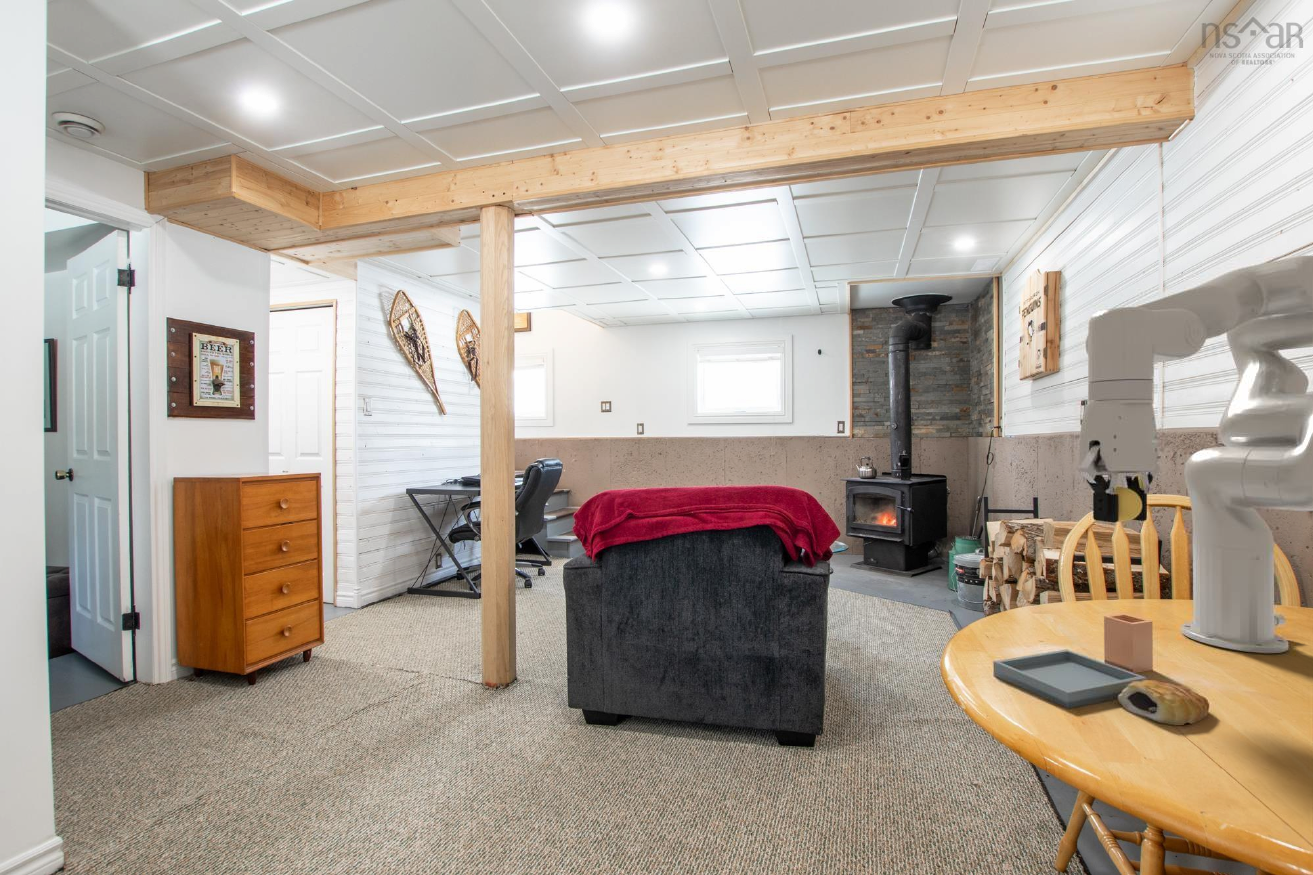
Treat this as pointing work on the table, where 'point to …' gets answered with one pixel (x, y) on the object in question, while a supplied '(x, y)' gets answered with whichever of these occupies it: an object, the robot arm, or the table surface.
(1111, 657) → the open box
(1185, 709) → the pastry
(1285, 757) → the table surface
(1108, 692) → the tray
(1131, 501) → the ball
